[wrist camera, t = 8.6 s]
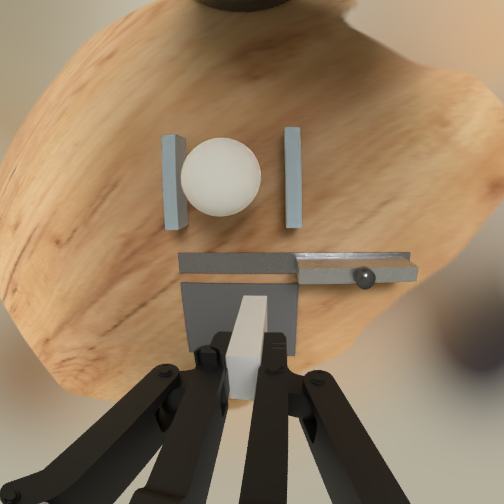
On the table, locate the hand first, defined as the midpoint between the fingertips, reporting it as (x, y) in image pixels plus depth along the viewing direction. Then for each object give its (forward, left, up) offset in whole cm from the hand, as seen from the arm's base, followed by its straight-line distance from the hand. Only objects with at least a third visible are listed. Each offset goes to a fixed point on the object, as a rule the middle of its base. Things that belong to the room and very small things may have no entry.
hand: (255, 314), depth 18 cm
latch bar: (+1, +10, -14) cm, 17 cm away
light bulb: (-9, -3, -15) cm, 17 cm away
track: (+1, +4, -14) cm, 15 cm away
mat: (+8, -3, -14) cm, 17 cm away
